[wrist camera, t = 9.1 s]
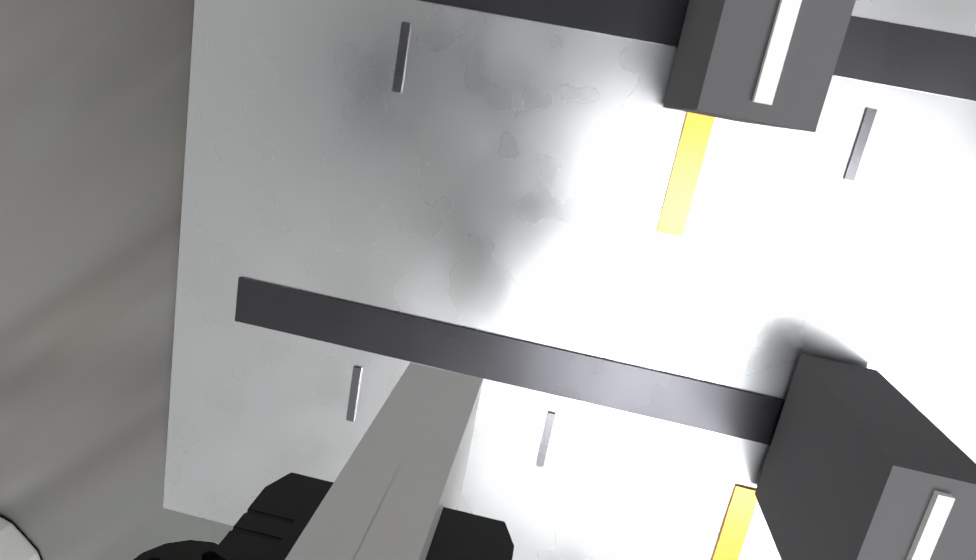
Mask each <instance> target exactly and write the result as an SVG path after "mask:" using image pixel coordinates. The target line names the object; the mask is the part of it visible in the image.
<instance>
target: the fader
mask: <svg viewBox="0 0 976 560" xmlns="http://www.w3.org/2000/svg"><path fill="white" fill-rule="evenodd" d="M855 1H856V0H689V4H688V8H687V12H686V16H685V20H684V24H683V28H682V32H681V36H680V40H679V44H678V48H677V52H676V57H675V61H674V65H673V69H672V73H671V77H670V81H669V85H668V89H667V93H666V97H665V101H664V105H663V107H664V108H669V109H675V110H680V111H685V112H690V113H696V114H701V115H706V116H711V117H717V118H722V119H727V120H733V121H738V122H744V123H751V124H758V125H765V126H772V127H780V128H787V129H794V130H801V131H808V132H815V131H816V128H817V125H818V122H819V118H820V115H821V112H822V109H823V105H824V102H825V99H826V96H827V92H828V89H829V86H830V83H831V79H832V76H833V73H834V70H835V66H836V63H837V60H838V57H839V53H840V50H841V47H842V44H843V40H844V37H845V34H846V31H847V27H848V24H849V21H850V18H851V14H852V11H853V8H854V5H855Z"/></svg>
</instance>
